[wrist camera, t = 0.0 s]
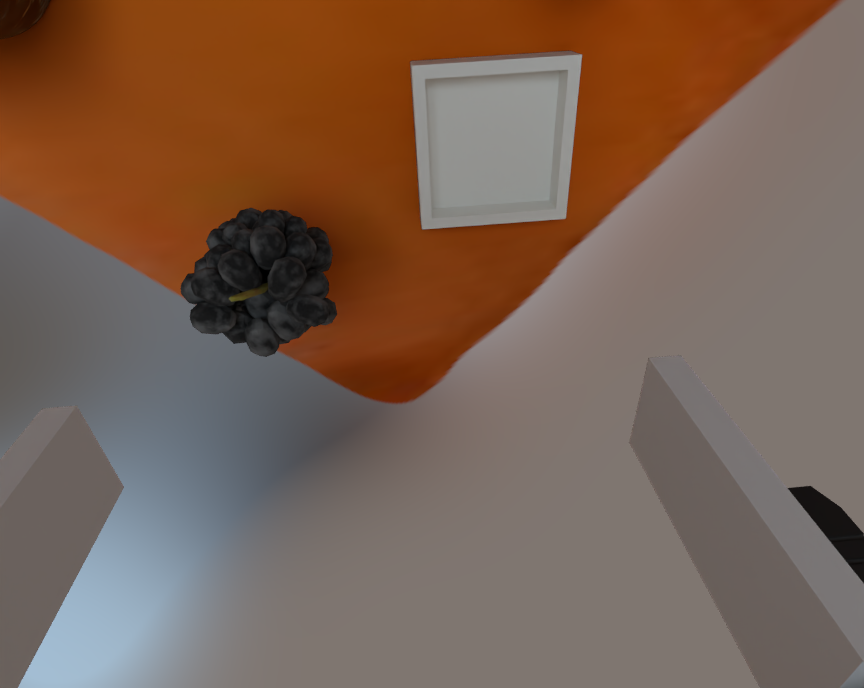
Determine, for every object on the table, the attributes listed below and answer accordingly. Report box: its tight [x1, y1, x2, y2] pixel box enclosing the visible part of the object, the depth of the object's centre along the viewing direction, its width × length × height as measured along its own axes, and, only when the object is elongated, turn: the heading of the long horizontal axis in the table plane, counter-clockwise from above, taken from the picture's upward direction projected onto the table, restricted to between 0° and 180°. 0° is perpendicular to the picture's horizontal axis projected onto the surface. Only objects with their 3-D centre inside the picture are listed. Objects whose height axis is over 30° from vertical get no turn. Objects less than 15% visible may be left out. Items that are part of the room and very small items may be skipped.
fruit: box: [181, 208, 337, 357], centre depth 34 cm, size 9×8×15 cm
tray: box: [410, 51, 582, 229], centre depth 37 cm, size 11×11×2 cm
